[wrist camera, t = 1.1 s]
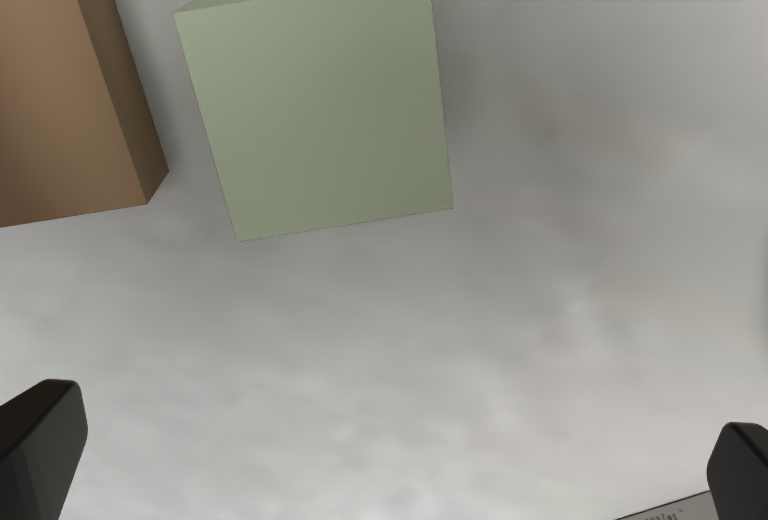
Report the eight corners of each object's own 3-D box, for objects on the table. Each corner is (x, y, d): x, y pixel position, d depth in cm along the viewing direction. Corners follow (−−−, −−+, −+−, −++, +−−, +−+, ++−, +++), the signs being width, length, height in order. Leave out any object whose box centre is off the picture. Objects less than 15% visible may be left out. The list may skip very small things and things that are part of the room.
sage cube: (264, 156, 20) (236, 241, 15) (222, -17, 18) (172, 13, 13) (425, 130, 20) (453, 208, 15) (403, -47, 18) (428, -29, 13)
